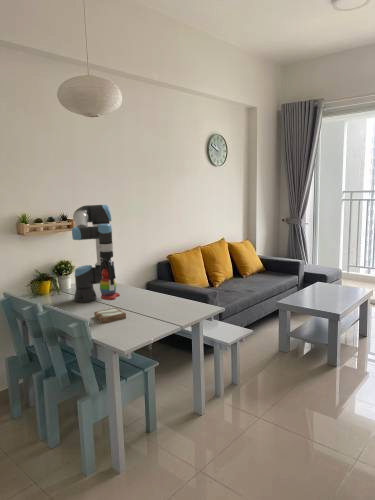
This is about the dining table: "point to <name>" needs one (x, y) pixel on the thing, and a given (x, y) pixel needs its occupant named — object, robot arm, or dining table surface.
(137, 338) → the dining table surface
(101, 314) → the picture frame
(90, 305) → the dining table surface
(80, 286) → the robot arm
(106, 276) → the stacking bear
